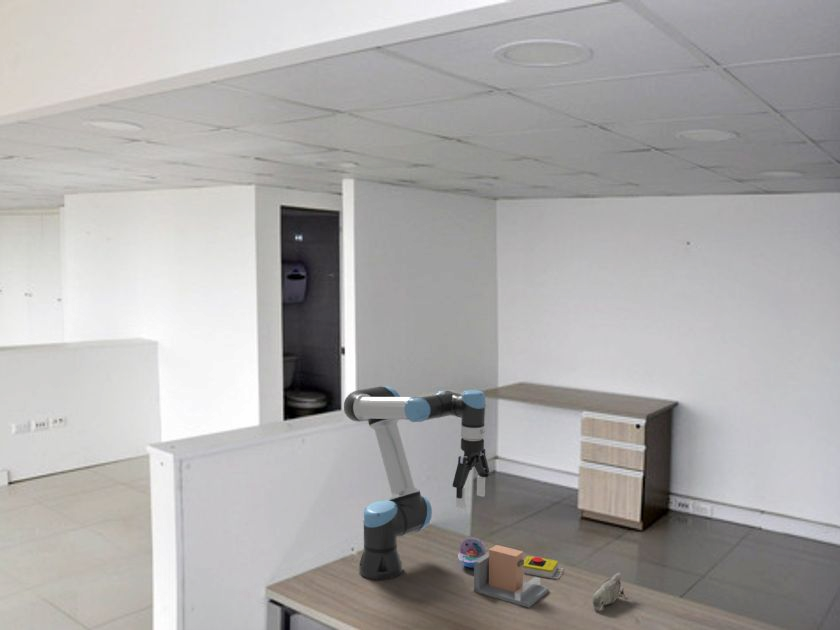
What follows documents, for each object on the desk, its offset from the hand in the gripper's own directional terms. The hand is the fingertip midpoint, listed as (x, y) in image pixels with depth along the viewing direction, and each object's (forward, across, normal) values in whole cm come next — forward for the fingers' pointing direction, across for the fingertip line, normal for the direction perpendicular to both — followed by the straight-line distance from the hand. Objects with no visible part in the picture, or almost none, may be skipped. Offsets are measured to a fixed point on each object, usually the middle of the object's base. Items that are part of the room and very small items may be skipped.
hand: (470, 501), depth 240 cm
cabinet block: (+28, +5, -11) cm, 30 cm away
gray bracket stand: (+29, +5, -13) cm, 32 cm away
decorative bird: (+28, +14, -43) cm, 53 cm away
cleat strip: (+27, +5, -19) cm, 34 cm away
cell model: (+30, +16, +7) cm, 34 cm away
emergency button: (+30, +25, -15) cm, 42 cm away
